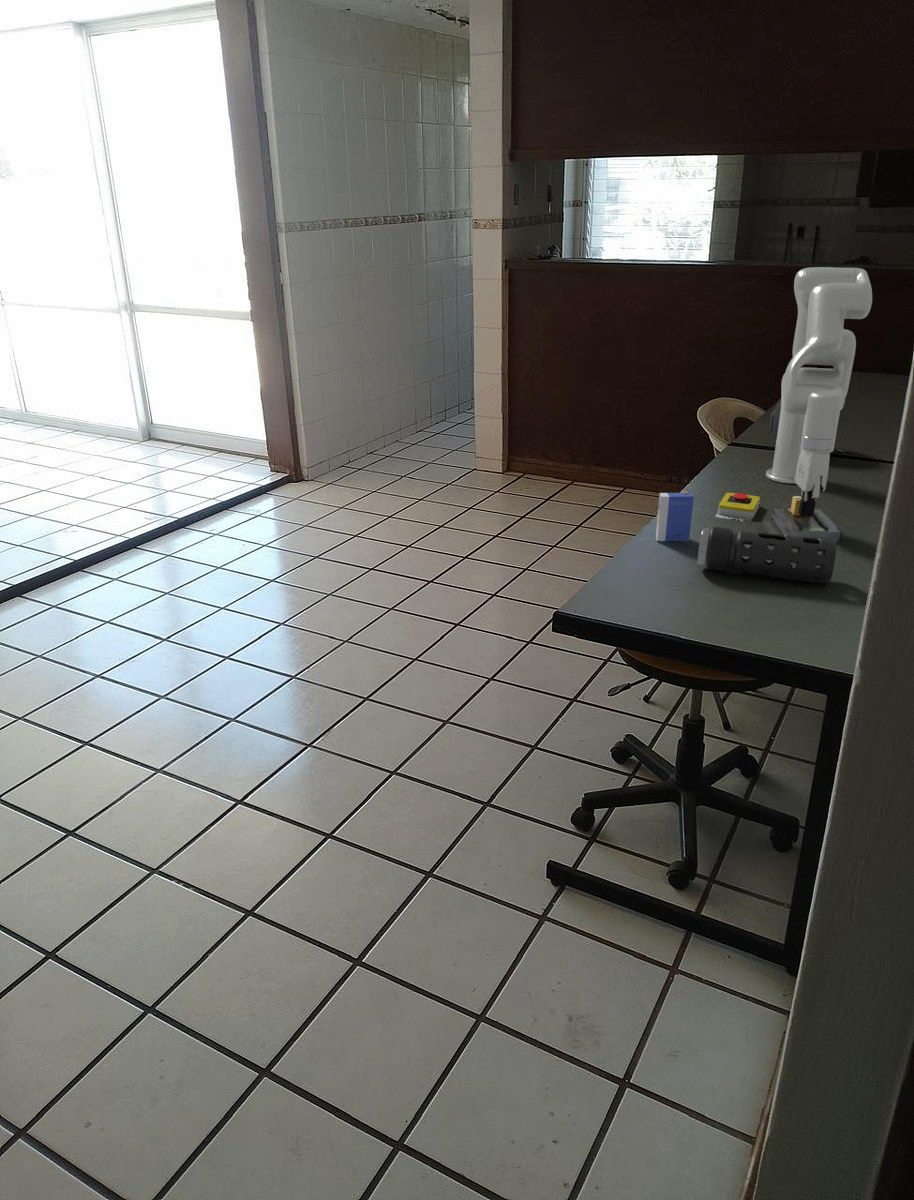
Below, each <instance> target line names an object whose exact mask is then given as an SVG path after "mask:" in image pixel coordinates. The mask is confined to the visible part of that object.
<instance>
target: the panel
mask: <svg viewBox="0 0 914 1200" xmlns="http://www.w3.org/2000/svg"><path fill="white" fill-rule="evenodd" d="M771 511H772V512H771V517H772V518H773V519H774V521H775V522H776V524H777V525H778V526H779V528H780V529H781V530H780V529H779V528H778V529H779V530H780V532H781V531H782V532H783V533H782V532H781V533H782V535H783V534H784V535H789V536H798V537H808V538H817V539H827V540H835V541H836V543H837V542H839V541H840V536H841V530H839V529H837V528H836V527H835V525H834V524H833V523H832V522H831V521H830V520H829V519H828V518H827V517H826V516H827V515H826V514H825V513H824V512H823V511H822V510H821V509H820V508H819V509H814V515H813V516H800V515H793V514H792V512H791V508H772V510H771ZM772 518H771V519H772ZM774 521H773V522H774ZM775 522H774V523H775ZM776 524H775V525H776ZM777 525H776V526H777ZM778 526H777V527H778Z"/></svg>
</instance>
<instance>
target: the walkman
mask: <svg viewBox="0 0 914 1200" xmlns="http://www.w3.org/2000/svg"><path fill="white" fill-rule="evenodd" d="M693 506H694V495H693V494H692V492H688V491H682V492H659V498H658V503H657V510H658V511H657V519H656V532H655V541H656V540H657V541H661V542H660V543H663V542H662V541H666V542H665V543H670V542H669V541H675V542H676V541H677V542H676V543H679V542H678V541H680V543H681V541H682V542H683V543H684V542H685V543H687V542H688V543H689V542H690V535H691V525H692V514H693ZM657 541H656V542H657ZM667 541H668V542H667ZM675 542H674V543H675Z"/></svg>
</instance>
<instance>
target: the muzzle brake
mask: <svg viewBox="0 0 914 1200" xmlns="http://www.w3.org/2000/svg"><path fill="white" fill-rule="evenodd" d="M698 545H699V546H698V554H697V564H698V565H701V566H704V567H705V568H706V569H711V570H719V571H725V574H735V575H740V576H741V575H742V574H743V573H751V574H759V575H766V576H767V575H768V577H769V578H781V579H782V580H788V581H789V580H791V581H799V582H806V583H814V584H824V585H826V584H828V582H831V580H832V578H833V573H834V569H835V562H836V555H837V554H836V553H837V542H836V541H835V540H827V539H817V538H808V537H798V536H789V535H783V534H779V533H778V534H770V533H767V532H761V531H759V532H758V531H749V530H738V531H733V529H732V528H730V527H725V526H724V527H723V526H716V525H715V526H714V525H713V526H710V527H709V528H707V527H706V528H702V529H701V533H700V539H699V544H698ZM768 546H769V547H773V548H772V549H770V548H769V547H768ZM793 550H796V551H793ZM818 552H821V553H820V554H819V553H818ZM768 561H770V562H768ZM792 564H793V565H792ZM817 566H819V567H817Z"/></svg>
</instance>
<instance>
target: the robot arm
mask: <svg viewBox="0 0 914 1200" xmlns="http://www.w3.org/2000/svg"><path fill="white" fill-rule="evenodd" d="M793 282H794V283H793V291H794V296H795V301H796V304H797V319H796V325H795V326H796V327H795V331H794V338H793V344H792V358H791V359H790V361H789V362H788V365H787V367H786V369H785V373H784V374H783V376H782V378H781V385H780V386H781V388H780V389H781V395H780V396H781V398H780V399H781V412H780V420H779V427H778V434H777V441H776V440H775V441H776V442H775V449H774V455H773V461H772V468H768V469H767V470H766V472H765V477H766V478H767V479H769V480H771V481H774V482H777V483H782V484H783V483H784V484H795V485H797V486H798V487H799V488H800V489H801V493H800V496H801V501H800V507H799V514H800V516H813V515H814V509H815V507H816V503H817V499H820V493H824V492H825V490H826V488H827V481H828V477H829V476H828V475H829V466H830V458H831V457H830V456H831V453H832V452H834V450H835V449H834V448H835V443H836V438H837V435H836V432H837V426H838V420H839V415H840V413H841V410H843V408H844V405H845V402H846V397H847V394H848V391H849V386H850V381H851V376H852V371H853V365H854V361H855V356H856V348H857V340H856V336H855V334H854V332H853V331H851V330H849V329H845V328H844V326H845V325H844V324H845V320H848V319H850V320H862V319H865V318H866V317H868V315H869V313H870V311H871V308H872V305H873V291H872V284H871V281H870V278H869V275H868V272H867V271H866V270H865V269H864V268H859V267H832V266H831V267H830V266H826V267H825V266H822V267H821V266H820V267H819V266H817V267H816V266H815V267H814V266H813V267H804V268H803V269H800V270H799V271H797V272H796V275H795V277H794V281H793ZM804 365H812V366H813V365H814V366H815V365H816V366H817V365H819V366H832V367H833V368H825V367H824V368H818V367H803V366H804Z"/></svg>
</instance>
